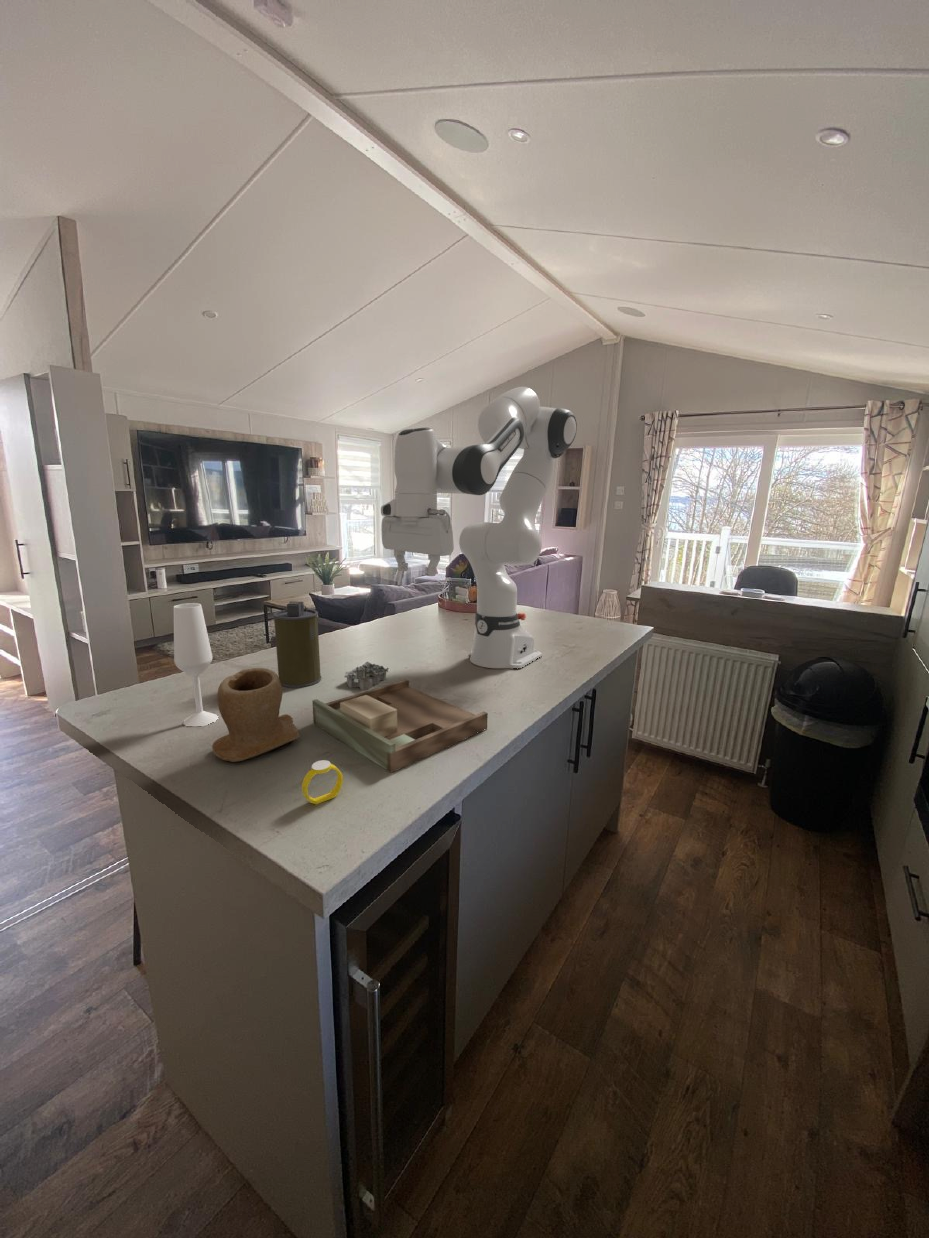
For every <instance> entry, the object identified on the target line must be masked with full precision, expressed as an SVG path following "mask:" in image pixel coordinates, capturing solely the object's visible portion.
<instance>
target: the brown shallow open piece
mask: <svg viewBox="0 0 929 1238" xmlns="http://www.w3.org/2000/svg"><path fill="white" fill-rule="evenodd" d="M409 683H410V680H408V679H403V680H400V681H396V682H394V683H389V684H387V685H382V686H379V687H376V688H373V689H372V688H371V689H368V690H367V691H363V692H360V693H355V694H353V695H349V696H346V697H343V698H339V699H337V700H336V699H335V700H333V701H330V702H327V703H325V702H323V701H321V700H320V699H317V698H316V699H313V700H312V717H313V718H312V719H313V721H312V722H313V724H314V725H316V726H317V727H318V728H320V729H322V730H323V731H325V732H326V733H328V734H330V735H331V736H332V737H334V738H335V739H337V740H339V741H341V742H343V743H344V744H345V745H346V746H348V747H349V748H352V750H355V751H356V752H358V753H360V754H361V755H363V756H364V757H365V758H368V759H369V760H370V761H371V762H373V763H375V764H376V765H378V766H380V767H381V768H383V769H385V770H386V771H387V772H389V773H393V772H396V771H398V770H400V769H402V768H405V767H407V766H409V765H411V764H413V763H416V762H417V761H420V760H423V759H425V758H427V757H429V756H431V755H433V754H435V753H437V752H440V751H441V750H444V749H446V747H447V748H449V747H451V746H453V745H455V744H457V742H458V743H459V741H460V742H461V740H462V741H464V740H466V739H468V738H467V737H469V736H471V737H473V736H475V735H477V734H478V733H477V732H480V731H482V730H484V729H486V730H488V717H489V716H488V712H486V711H482V712H480V713H477V714H474V713H472V712H470V711H468V710H465V709H463V708H460V707H458V706H455V705H453V704H451V703H448V702H446V701H445V700H441V699H439V698H437V697H434V696H433V695H430V694H427V693H425V692H424V691H420V690H418V689H415V688H413V687H412V686H410V684H409ZM364 695H368V696H370V697H372V698H374V699H376V700H378V701H380V702H382V703H384V704H386V705H388V706H391V707H393V708H395V709H397V732H396V733H393V734H390V735H388V736H385V737H383V736H381V735H379V734H377V733H376V732H374V731H372V730H370V729H369V728H367V727H365V726H363V725H362V724H360V723H358V722H356V721H355V720H353V719H351V718H349V717H347V716H346V715H344V714H342V713H340V703H341V702H344V701H347V700H351V699H354V698H357V697H360V696H364ZM484 731H485V730H484ZM482 732H483V731H482ZM476 733H477V734H476ZM480 733H481V732H480ZM474 734H475V735H474ZM472 735H473V736H472ZM465 738H466V739H465ZM469 738H470V737H469ZM463 739H464V740H463ZM448 746H449V747H448Z"/></svg>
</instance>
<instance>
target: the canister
mask: <svg viewBox="0 0 929 1238" xmlns="http://www.w3.org/2000/svg"><path fill="white" fill-rule="evenodd" d="M318 614H319V612H318V611H317V610H316V609H311V608H308V607H307V606H305V603H304V601H296V600H295V601H293V600H292V601H289V602H288V603H287V604H286V609H283V610H279V611H276V612H274V613H273V614H272V616H273V620H274V621H273V622H274V635H275V646H276V649H275V650H276V660H277V673H278V674H277V675H278V677H279V680H280V682H281V686H282V687H285V688H292V689H293V688H294V689H295V688H296V689H297V688H305V687H309V686H313V685H316V684H317V683H319V682H320V681H321V680H322V675H321V662H320V661H321V660H320V659H321V658H320V643H319V642H320V641H319V638H320V637H319V623H318V621H319V619H318Z"/></svg>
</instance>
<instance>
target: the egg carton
mask: <svg viewBox="0 0 929 1238" xmlns="http://www.w3.org/2000/svg"><path fill="white" fill-rule="evenodd" d="M389 669H390V668H389V667H387V668H385V667H384V666H383V665H379V664H376V663H371V662H369V661H366V662H364V664H362V665H360V666H357V667H355V668H354V669H352V670H350V671H346V672H344V677H343V678H345V679H346V685H347V686H348V688H359V690H362V691H365V690H372V688H373V686H374V685H379V684H380V681H386V680H387V673H388V672H389Z"/></svg>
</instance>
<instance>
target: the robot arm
mask: <svg viewBox="0 0 929 1238" xmlns="http://www.w3.org/2000/svg"><path fill="white" fill-rule="evenodd" d="M577 425H578V423H577V419H576V416H575V414H574V413H573V412H572V411H571V410H569V409H566V408H562V407H558V408H555V407H548V406H541V402H540V398H539V396H538V395H537V393H536V392H535V391H534V390H533V389H532V388H530V387H528V386H516V387H515V388H512V389H509V390H506V391H505V392H503V393H502V394H500V395H498V396H497V397H496V398H494V399H493V400H491V402H489V403H488V404H487V405H486V406H485V407H484V408H483V409H482V410H481V412H480V414H479V415H478V420H477V429H478V434H479V436H480V438H481V440H482V441H483V442H484V444H483V443H482V444H481V443H479V444H473V445H468V446H467V445H466V446H456V447H448V446H447V445H445V444H443V443H442V442H441V441H440V440H439V439H438V438H437V436H436V434H435V430H434V429H433V428H430V427H425V426H424V427H418V428H410V429H407V428H406V429H404V430H400V432H399V433H398V434H397V437H396V440H395V444H394V445H395V446H394V475H395V478H396V479H395V480H396V486H395V489H394V499H391V500H390V501H389V502H386V503H385V504H383V505H381V506H380V514H381V516H382V520H381V529H380V530H381V533H380V534H381V544H382V545H383V548H384V549H385V550H392V551H393V556H394V558H395V561H396V563H397V571H399V572H408V571H409V567H408V566H409V562H407V561H406V558H405V555H406V552H407V553H416V554H424V555H428V556H427V558H428V560H429V562H428V566H427V567H424V570H425V576H426V577H435V576H436V574H437V568H438V565H439V563H440V561H441V557H444V556H446V557H447V556H451V555H452V553H453V551H454V548H455V547H454V533H453V532H454V531H453V526H452V523H451V520H452V519H451V515H450V514H449V513H448V512H447V511H446V510H445V509H442V508H440V509H438V494H466V495H473V496H482V495H485V494H487V493H488V492H489V491H490V490H491V489H492V488H493V487H494V485H495V483H496V482H497V479H498V477H499V475H500V473H501V472H502V469H503V468H505V465H506V464H507V463H508V462H509V460H510V459H511V458H512V457H513V456H514V454H515V453H516V452H517V450H518V449H521V450H523V453H522V456H521V458H520V459H519V461H517V464H516V465H515V467H514V468H513V470H512V472H511V473H510V476H509V478H508V480H506V483H505V486H504V488H503V489H502V491H501V494H500V496H499V499H498V501H499V506H500V508H501V510H502V511H503V513H504V515H503V518H502V519H501V521H500V522H489V521H488V522H486V521H481V522H476V523H471V524H467V525H466V526H464V527H463V529H462V530H461V532H460V535H459V539H458V541H459V542H458V544H459V550H460V551H461V553H462V554H463V555H464V556H465V558H466V559H467V560H468V562H469V564H470V566H471V567H470V568H471V569H472V572H473V574H474V575H473V576H474V579H475V583H476V612H475V616H474V625H475V629H474V631H473V639H472V648H471V650H470V652H469V656H470V657H469V660H470V662H471V663H472V664H473V665H476V666H478V667H483V668H490V669H513V668H517V669H518V668H521V669H522V667H523V668H524V667H526V666H528V665H529V663H530V664H532V663H533V662H536V661H537V660H538V659H540V658H542V657H543V654H542V652H541V651H539V650H538V649H535V639H534V637H533V635H532V634H531V633H530V632H528V631H527V630H526V629H525V628H523V627H522V626H521V623H520V620H521V621H525V620H526V618H527V614H526V613H522V612H518V613H517V604H518V603H517V601H518V587H517V584H516V583H515V581H514V580H513V579H512V578H511V577H510V576H509V574H508V572H507V570H506V567H505V566H512V567H520V566H527V565H532V564H534V563H535V562H536V561H537V559H538V558H539V556H540V555H541V552H542V547H543V543H542V538H541V535H540V533H539V532H538V530H537V529H536V525H535V524H536V518H537V517H536V516H537V514H538V511H539V509H540V506H541V505H542V502H543V500H544V497H545V495H546V493H547V491H548V490H549V489H548V488H549V486H550V484H551V482H552V478H553V475H554V471H555V466H556V462H555V459H558V458H560V457H561V456H562V455H563V454H564V453H565V452H566V451H567V450H568V449H569V448H570V447H571V445H572V444H573V442H574V440H575V438H576V435H577V427H578V426H577ZM541 656H542V657H541ZM539 657H540V658H539ZM537 658H538V659H537ZM536 659H537V660H536ZM532 661H533V662H532ZM527 664H528V665H527ZM525 665H526V666H525ZM517 669H516V670H517ZM518 670H519V669H518Z"/></svg>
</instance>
